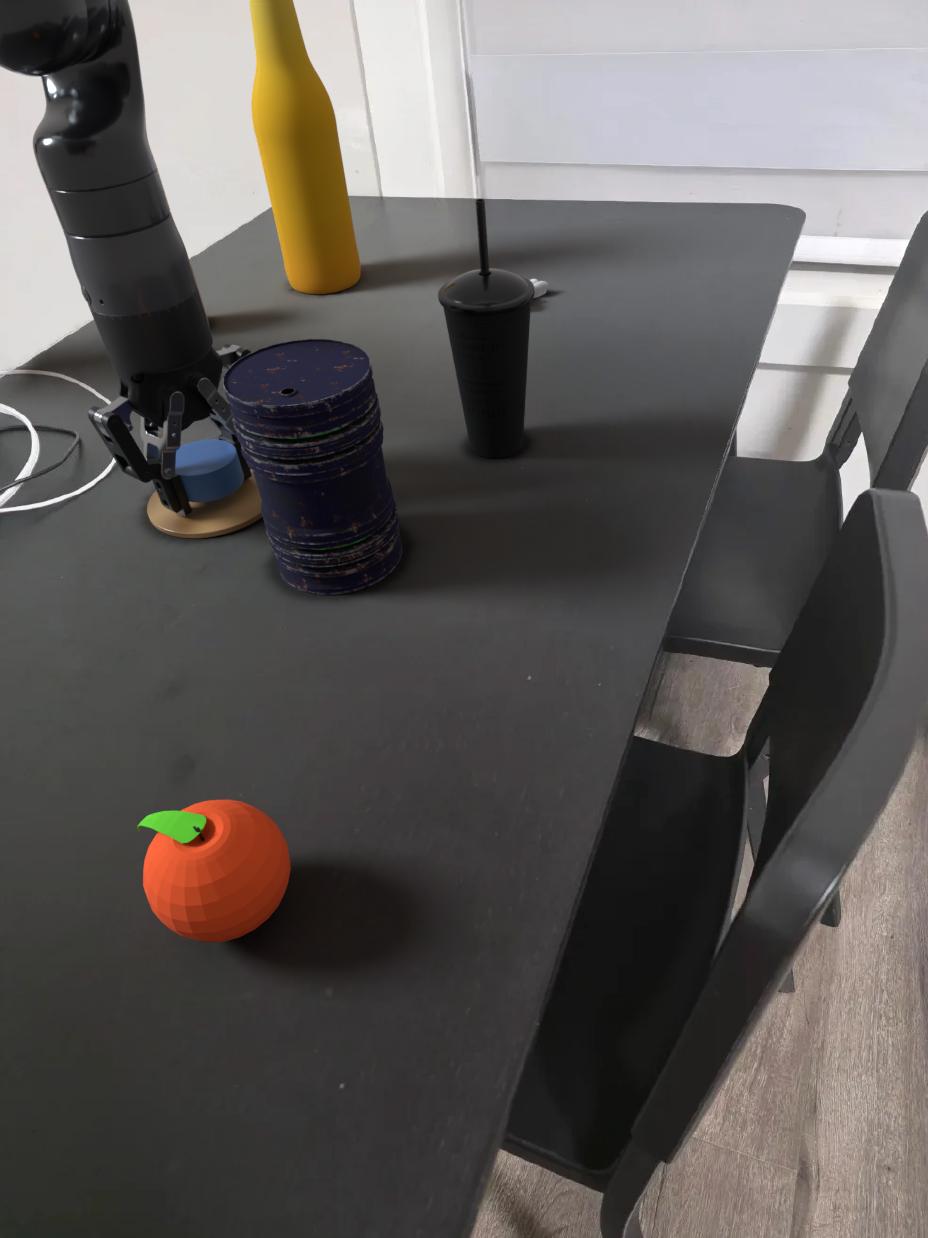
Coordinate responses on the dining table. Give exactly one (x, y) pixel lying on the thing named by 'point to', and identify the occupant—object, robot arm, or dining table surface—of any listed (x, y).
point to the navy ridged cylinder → (317, 462)
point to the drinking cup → (490, 349)
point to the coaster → (210, 514)
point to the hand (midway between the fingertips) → (212, 492)
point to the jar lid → (208, 469)
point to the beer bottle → (301, 155)
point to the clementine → (215, 869)
